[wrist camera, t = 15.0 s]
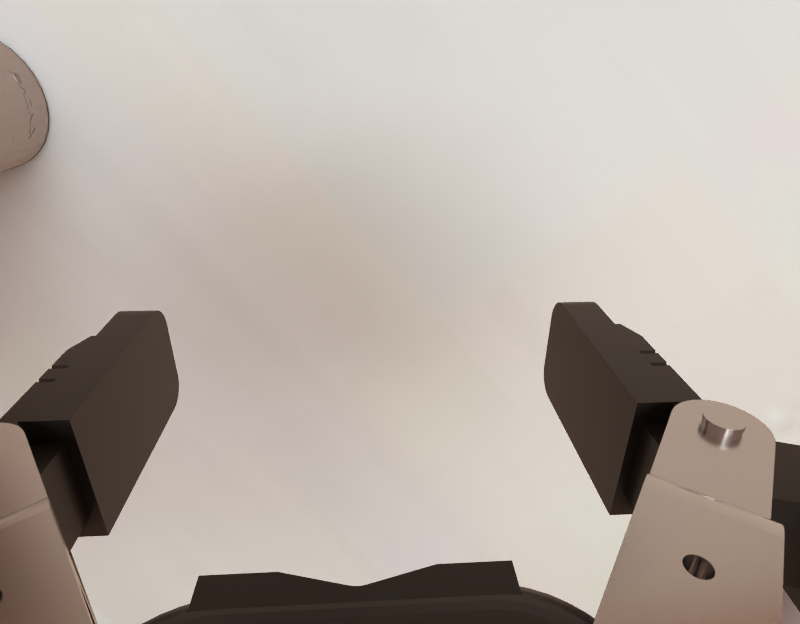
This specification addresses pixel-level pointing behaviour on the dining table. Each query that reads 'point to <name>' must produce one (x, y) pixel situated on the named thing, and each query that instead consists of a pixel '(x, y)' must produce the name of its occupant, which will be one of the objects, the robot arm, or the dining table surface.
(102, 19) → the dining table surface
